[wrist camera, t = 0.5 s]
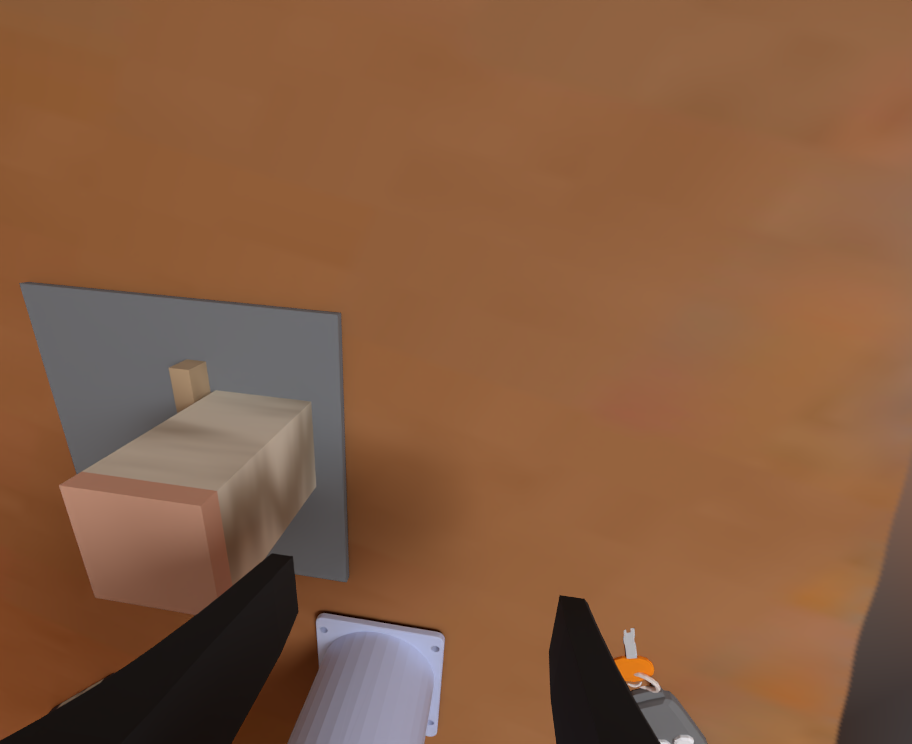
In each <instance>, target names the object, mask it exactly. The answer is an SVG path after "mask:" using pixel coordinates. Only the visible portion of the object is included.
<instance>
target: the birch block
mask: <svg viewBox="0 0 912 744" xmlns="http://www.w3.org/2000/svg"><path fill="white" fill-rule="evenodd" d="M59 487H60V490H61V493H62V496H63V499H64V503H65V506H66V509H67V512H68V515H69V518H70V521H71V524H72V527H73V531H74V534H75V537H76V540H77V543H78V546H79V549H80V552H81V555H82V559H83V562H84V565H85V568H86V571H87V574H88V577H89V580H90V583H91V587H92V590H93V593H94V596H95V598H100V599H106V600H112V601H117V602H123V603H129V604H135V605H141V606H146V607H152V608H158V609H164V610H170V611H175V612H181V613H187V614H193V615H197V614H198V613H199V612H200V611H202V610H203V609H204V608H205V607H207V606H208V605H209V604H210V603H212V602H213V601H214V600H215V599H217V598H218V597H219V596H220V595H222V594H223V593H224V592H225V591H227V590H228V589H229V588H230V587H231V586H233V585H234V584H235V583H236V582H237V581H239V580H240V579H241V578H242V577H243V576H245V575H246V574H247V573H248V572H249V571H251V570H252V569H253V568H254V567H256V566H257V565H258V564H259V563H260V562H262V561H263V560H264V559H265V558H266V556H267V555H268V553H269V552H270V551H271V549H272V548H273V546H274V545H275V544H276V542H277V541H278V539H279V538H280V537H281V535H282V534H283V532H284V531H285V530H286V528H287V527H288V525H289V524H290V523H291V521H292V520H293V518H294V517H295V516H296V514H297V513H298V511H299V510H300V509H301V507H302V506H303V504H304V503H305V502H306V500H307V499H308V497H309V496H310V495H311V493H312V492H313V490H314V489H315V488H316V472H315V456H314V439H313V423H312V407H311V401H302V400H294V399H286V398H277V397H269V396H260V395H252V394H244V393H235V392H227V391H218V390H215V391H214V392H212V393H210V394H209V395H207V396H205V397H204V398H202V399H200V400H199V401H197V402H195V403H194V404H192V405H191V406H189V407H187V408H186V409H184V410H182V411H181V412H179V413H177V414H176V415H174V416H172V417H171V418H169V419H167V420H166V421H164V422H163V423H161V424H159V425H158V426H156V427H154V428H153V429H151V430H149V431H148V432H146V433H144V434H143V435H141V436H139V437H138V438H136V439H135V440H133V441H131V442H130V443H128V444H126V445H125V446H123V447H121V448H120V449H118V450H116V451H115V452H113V453H111V454H110V455H108V456H107V457H105V458H103V459H102V460H100V461H98V462H97V463H95V464H93V465H92V466H90V467H88V468H87V469H85V470H83V471H82V472H80V473H79V474H77V475H75V476H74V477H72V478H70V479H69V480H67V481H65V482H64V483H62V484H60V485H59Z"/></svg>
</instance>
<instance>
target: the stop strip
mask: <svg viewBox="0 0 912 744" xmlns="http://www.w3.org/2000/svg"><path fill="white" fill-rule="evenodd" d="M169 372H170V378H171V383H172V388H173V394H174V399H175V404H176V409H177V413H179V412H181V411H182V410H184V409H186V408H187V407H189V406H191V405H192V404H194V403H195V402H197V401H199V400H200V399H202V398H204V397H205V396H207V395H209V394H210V393H211V392H210V385H209V379H208V372H207V366H206V361H197V360H188V359H187V360H184V361H182V362H180V363H178V364H176V365H173V366H171V367H169Z"/></svg>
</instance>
